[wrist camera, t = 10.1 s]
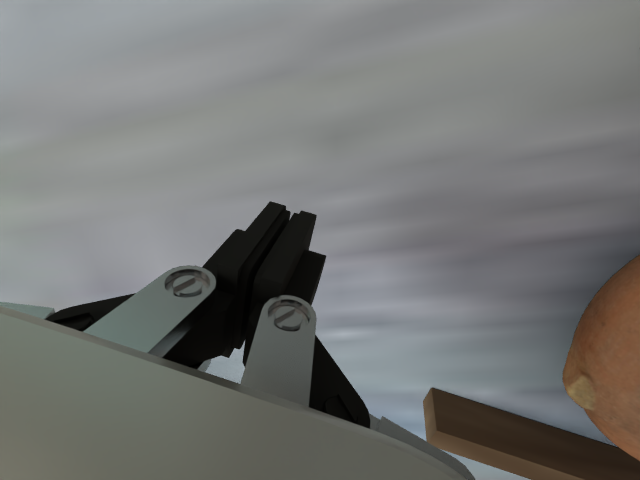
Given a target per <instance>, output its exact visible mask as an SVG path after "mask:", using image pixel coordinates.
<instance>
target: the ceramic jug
mask: <svg viewBox="0 0 640 480" xmlns="http://www.w3.org/2000/svg"><path fill="white" fill-rule="evenodd" d="M563 383H564V386H565V389H566V391H567V394H568V395H569V396H570V397H571V398H572V399H573V400H574V401H575V402H576V403H577V404H578V405H579V406H581V407H582V408H584V410H585V412H586V413H587V415H588V416H589V418H590V419H591V421H592V422H593V423H594V424H595V425H596V427H597V428H598V429H599V430H600V431H601V432H602V433H603V434H604V435H605V436H606V437H607V438H608V439H609V440H611V441H612V442H613V443H614V444H615V445H617V446H618V447H619V448H621V449H622V450H623V451H625V452H626V453H628V454H629V455H631V456H632V457H634V458H636V459H637V460H639V461H640V255H638V256H637V257H635V258H634V259H633V260H631V261H630V262H629V263H627V264H626V265H625V266H624V267H622V268H621V269H620V270H619V271H618V272H617V273H615V274H614V275H613V276H612V277H611V278H610V279H609V280H608V281H607V282H606V283H605V284H604V285H603V286H602V288H601V289H600V290H599V291H598V292H597V294H596V295H595V296H594V298H593V299H592V300H591V302H590V303H589V304H588V306H587V308H586V309H585V311H584V313H583V315H582V317H581V319H580V321H579V323H578V326H577V328H576V331H575V334H574V337H573V341H572V344H571V347H570V350H569V352H568V356H567V360H566V364H565V367H564V370H563Z"/></svg>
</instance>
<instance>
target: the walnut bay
mask: <svg viewBox="0 0 640 480" xmlns="http://www.w3.org/2000/svg"><path fill="white" fill-rule="evenodd" d="M423 406H424V417H425V428H426V439H427V442H428V443H430V444H432V445H433V446H435V447H437V448H439V449H442V450H445V451H448V452H451V453H454V454H457V455H460V456H463V457H466V458H469V459H472V460H475V461H478V462H481V463H484V464H487V465H490V466H493V467H496V468H499V469H502V470H505V471H507V472H510V473H513V474H516V475H519V476H522V477H525V478H528V479H531V480H640V461H639V460H637V459H636V458H634V457H632V456H631V455H629V454H628V453H626V452H625V451H623V450H622V449H620V448H617V447H614V446H611V445H607V444H604V443H601V442H598V441H595V440H592V439H589V438H586V437H583V436H580V435H577V434H573V433H570V432H567V431H564V430H561V429H558V428H555V427H552V426H549V425H546V424H543V423H539V422H536V421H533V420H530V419H527V418H524V417H521V416H518V415H515V414H512V413H509V412H505V411H502V410H499V409H496V408H493V407H490V406H487V405H484V404H481V403H478V402H475V401H471V400H468V399H465V398H462V397H459V396H456V395H453V394H450V393H447V392H444V391H440V390H437V389H434V388H431V389H430V391H429V393H428V394H427V396H426V397H425V399H424V401H423Z"/></svg>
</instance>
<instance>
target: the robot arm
mask: <svg viewBox="0 0 640 480" xmlns="http://www.w3.org/2000/svg"><path fill="white" fill-rule="evenodd" d="M289 219H290V211H287V210H286V206H284V205H281V204H278V203H274V202H271V201H270V202H269V203H268V205H267V206H266V207H265V208H264V209H263V211H262V212H261V213H260V214H259V215H258V217H257V218H256V219H255V220H254V221H253V222H252V224H251V225H250V226H249V227H248V228H247V230H246V231H243V230H239V229H236V230H235V231H234V232H233V233H232V234H231V235H230V237H229V238H228V239H227V240H226V241H225V242H224V243H223V244H222V246H221V247H220V248H219V249H218V250H217V251H216V252H215V253H214V254H213V256H212V257H211V258H210V259H209V260H208V261H207V262H206V263H205V264H204V266H203V267H198V266H190V265H188V266H179V267H176V268H172V269H171V270H169V271H167V272H165V273H164V274H162V275H161V276H160V277H158V278H157V279H155V280H154V281H153V282H151V283H150V284H148V285H147V286H146V287H144V288H143V289H141V290H140V291H139V292H137V293H135V294H130V295H126V296H121V297H116V298H111V299H106V300H102V301H97V302H92V303H87V304H82V305H78V306H73V307H69V308H66V309H63V310H60V311H58V312H56V313H55V310H54V308H49V307H41V306H32V305H24V304H15V303H7V302H0V480H475V478H474V476H473V475H472V474H471V472H470V471H469V470H468V469H467V467H466V466H465V465H463V464H462V463H461V462H460V461H458V460H457V459H456V458H454V457H452V456H451V455H449V454H447V453H445V452H444V451H442V450H440V449H439V448H437V447H435V446H433V445H432V444H430V443H428V442H426V441H425V440H423V439H421V438H419V437H418V436H416V435H414V434H413V433H411V432H409V431H407V430H406V429H404V428H402V427H400V426H399V425H397V424H395V423H393V422H392V421H390V420H388V419H387V418H385V417H383V416H382V417H381V419H380V420H379V419H378V418H376V417H374V416H373V415H371V414H369V412H368V409H367V408H366V406H365V404H364V402H363V400H362V399H361V398H360V396H359V395H358V394H357V392H356V391H355V389H354V388H353V387H352V385H351V384H350V382H349V381H348V380H347V378H346V377H345V375H344V374H343V373H342V371H341V370H340V368H339V367H338V366H337V364H336V363H335V361H334V360H333V359H332V357H331V356H330V354H329V353H328V352H327V350H326V349H325V347H324V346H323V345H322V343H321V342H320V340H319V339H318V338H317V336H316V335H315V330H316V313H315V311H314V309H313V307H312V306H311V305H312V302H313V299H314V296H315V293H316V290H317V287H318V284H319V280H320V277H321V273H322V270H323V266H324V263H325V259H326V256H325V255H322V254H319V253H316V252H312V251H309V246H310V242H311V238H312V233H313V229H314V225H315V221H316V215H315V214H312V213H308V212H305V211H301V212H300V213H299V214H297V213H294V214H293V216H292V217H291V219H290V220H289ZM245 339H246V340H245ZM244 341H245V347H244V355H243V364H244V366H245V370H244V373H243V377H242V380H241V384H238V383H235V382H232V381H229V380H226V379H223V378H220V377H217V376H214V375H211V374H208V373H205V371H206V370H207V368H208V367H209V365H210V363H211V359H212V358H215V357H218V356H221V355H222V356H225V357H228V358H229V357H230V355H231V353H232V351H233V350H234V348H236V349H240V348H241V347H242V345H243V343H244Z"/></svg>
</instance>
